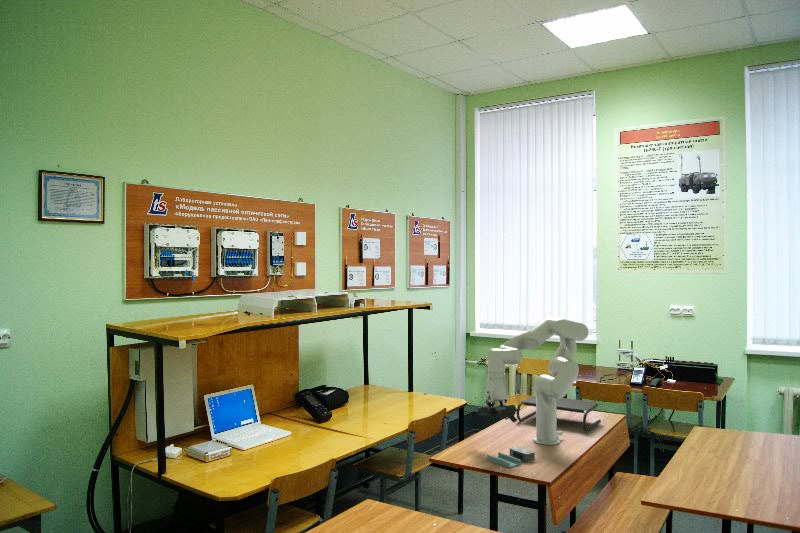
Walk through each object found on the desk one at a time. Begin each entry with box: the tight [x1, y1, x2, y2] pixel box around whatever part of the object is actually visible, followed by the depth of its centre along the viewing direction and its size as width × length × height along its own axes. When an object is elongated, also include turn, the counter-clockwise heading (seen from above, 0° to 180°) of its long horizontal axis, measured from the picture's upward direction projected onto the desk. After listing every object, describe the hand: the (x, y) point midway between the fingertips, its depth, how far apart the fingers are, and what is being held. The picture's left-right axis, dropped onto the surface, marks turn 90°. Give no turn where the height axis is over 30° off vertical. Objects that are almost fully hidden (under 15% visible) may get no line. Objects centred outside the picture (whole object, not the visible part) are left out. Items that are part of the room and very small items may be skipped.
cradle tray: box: [486, 451, 522, 469], centre depth 243 cm, size 7×13×2 cm, turn 34°
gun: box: [475, 404, 518, 423], centre depth 263 cm, size 4×20×10 cm, turn 44°
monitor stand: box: [516, 395, 601, 432], centre depth 308 cm, size 37×28×11 cm
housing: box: [509, 446, 536, 463], centre depth 248 cm, size 5×10×4 cm, turn 34°
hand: (496, 414), depth 263 cm, fingers closed on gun, 5 cm apart
